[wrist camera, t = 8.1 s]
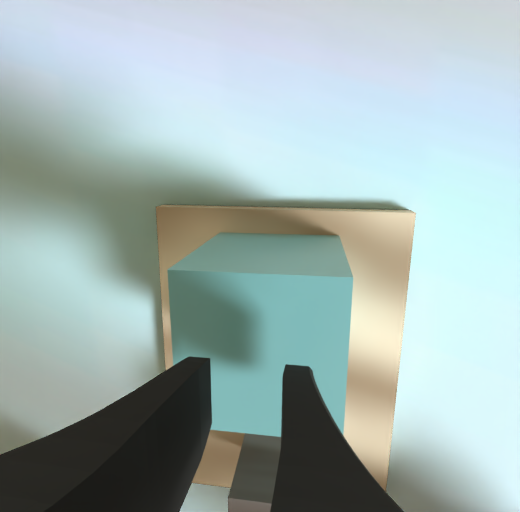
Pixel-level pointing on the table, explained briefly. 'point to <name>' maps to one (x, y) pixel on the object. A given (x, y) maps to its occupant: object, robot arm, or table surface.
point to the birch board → (360, 343)
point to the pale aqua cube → (263, 322)
